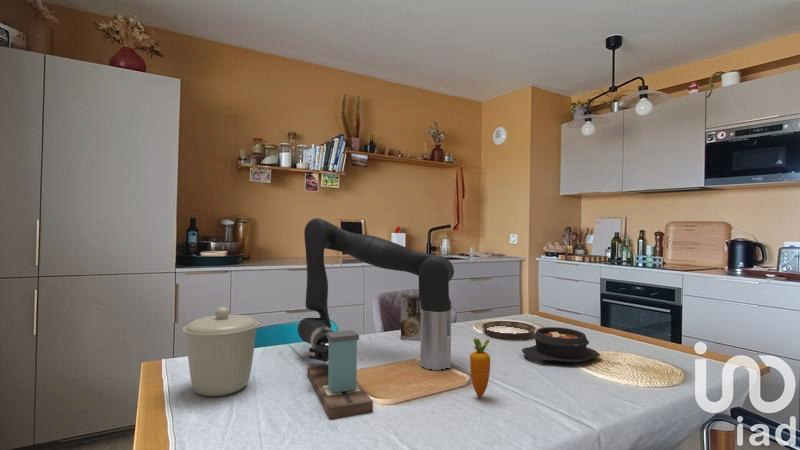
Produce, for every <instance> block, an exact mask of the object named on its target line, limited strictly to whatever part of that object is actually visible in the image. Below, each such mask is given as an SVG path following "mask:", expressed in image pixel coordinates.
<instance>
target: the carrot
mask: <svg viewBox="0 0 800 450" xmlns="http://www.w3.org/2000/svg"><path fill="white" fill-rule="evenodd" d="M473 342H474V345H475V346H473V347H474V348H473V349H475V350H474V351H473V352H471V353H470V355H469V366H470V367H469V368H470V377H471V383H472V385H473V386H472V387H473V390H474V392H475V393H476V396H477V398H479V399H481V398H482V397H483V396H484V394H485V392H486V390H487V388H488V384H489V379H490V371H491V370H490V369H491V356H490V355H489V353H488V352H487V351H485V349H486V348H487V345H489V342H490V339H488V338H487V339H486V340H485V341H484V343H483V345H482V342H481V340H480V339H479V338H477V337H474V338H473Z"/></svg>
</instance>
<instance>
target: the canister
mask: <svg viewBox="0 0 800 450" xmlns="http://www.w3.org/2000/svg"><path fill="white" fill-rule="evenodd" d="M259 325H260V322H259V320H256V319H254V317H252V316H249V315H243V314H231V313H230V309H229V307H226V306H219V307H218V308H216V309H215V311H214V315H211V316H210V315H208V316H205V317H201V318H197V319H195V320H193V321H191V322H189V323H188V324H186V325H185V326H183V327H182V332H183V333H184V334H185V338H186V339H185V341H186V343H185V344H186V349H187V350H186V351H187V359H188V367H189V368H188V369H189V374H190V375H189V376H190V381H191V385H192V388H193V391H195V392H196V393H197V394H199V395H201V396H204V397H221V396H227V395H230V394H231V395H232V394H234V393H237V392H239V391H241V390H243V389H244V388H245V387H246V386H247V385H248V383H249V380H250V377H251V373H252V366H253V358H254V351H255V350H254V349H255V345H256V344H255V342H256V334H257V328H258V327H259Z"/></svg>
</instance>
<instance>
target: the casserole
mask: <svg viewBox="0 0 800 450" xmlns="http://www.w3.org/2000/svg"><path fill="white" fill-rule="evenodd" d="M532 337H533V339H534V340H535V345H533V346H527V347H524V348H522V349H521V352H522V354H524V355H526V356H527V357H530V358H532V359H534V360H537V361H539V360H540V361H549V362H552V363H553V362H554V363H559V364H575V363H582V362H587V361H588V360H589V361H590V360H591V359H593V358H594V359H595V358H598V357H600V356H601V354H600V352H598V351H597V350H595V349H593V348H590V347H587V346H589V344H590V341H589V340H588V338H587V335H586V334H585V333H584V332H582V331H579V330H575V329H572V328H566V327H555V326H551V327H541V328H536V330H535V334H533V336H532Z"/></svg>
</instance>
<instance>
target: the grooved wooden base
mask: <svg viewBox="0 0 800 450" xmlns="http://www.w3.org/2000/svg"><path fill="white" fill-rule="evenodd" d="M306 375H307V378H308V380H309V382H310V383H311V385H312V388H313V389H314V392H315V393H316V396H317V397H318V400H319V402H320V404H321V405H322V407H323V410H324V412H325V413H326V414H325V415H326V416H327V417H328V419H329V420H334V419H340V418H346V417H351V416H359V415H364V414H368V413H369V414H370V413H373V412H374V400H373V399H372V398H371V397H370V395H369V394H368V393H367V392H366V390H365V389H364V388H363V387H362V386H361V384H360V383H359V382H358V380H357V381H356V390H349V391H343V392H336V393H331V391H330V389H329V388H328V364H322V365H314V366H307V374H306Z"/></svg>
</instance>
